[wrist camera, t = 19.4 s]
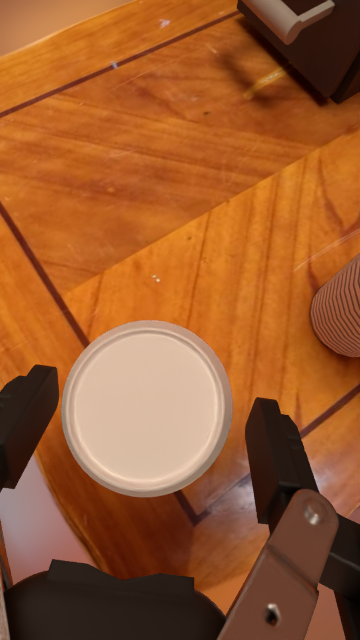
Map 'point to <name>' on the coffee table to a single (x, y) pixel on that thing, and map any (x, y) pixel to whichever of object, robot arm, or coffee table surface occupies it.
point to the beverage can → (146, 408)
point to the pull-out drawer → (310, 35)
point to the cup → (339, 311)
